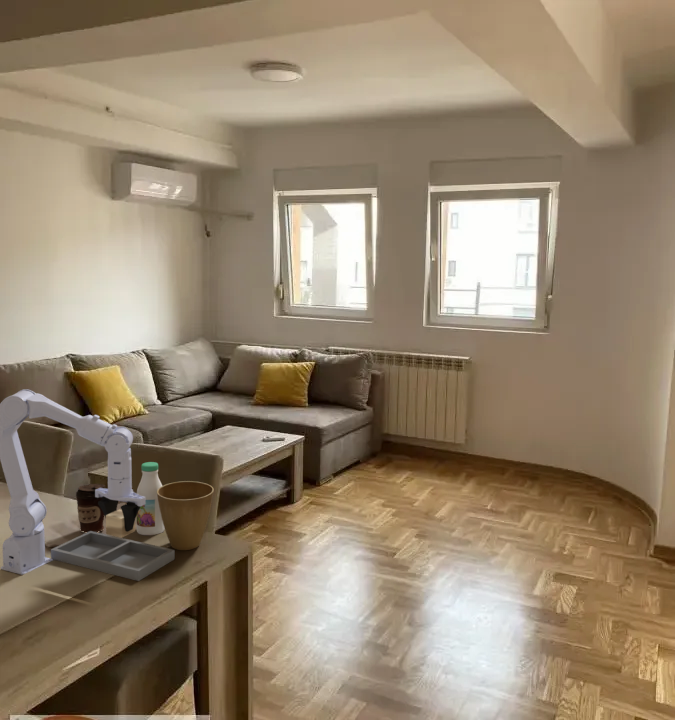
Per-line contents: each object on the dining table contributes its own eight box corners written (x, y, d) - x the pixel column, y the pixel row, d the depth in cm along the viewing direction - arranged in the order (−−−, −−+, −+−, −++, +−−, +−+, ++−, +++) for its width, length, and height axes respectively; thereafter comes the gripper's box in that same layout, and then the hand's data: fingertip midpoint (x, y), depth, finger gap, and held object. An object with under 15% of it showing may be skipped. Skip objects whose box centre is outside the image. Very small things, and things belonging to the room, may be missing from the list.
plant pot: (145, 550, 187) (144, 492, 185) (182, 532, 200) (182, 478, 198) (189, 562, 180) (189, 502, 178) (224, 542, 193) (224, 486, 191)
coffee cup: (101, 537, 195) (100, 492, 193) (71, 536, 195) (70, 491, 193) (112, 525, 204) (111, 482, 202) (83, 524, 204) (82, 481, 202)
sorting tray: (138, 582, 168) (138, 571, 168) (51, 560, 179) (50, 549, 179) (174, 560, 181) (174, 549, 180) (90, 541, 192) (90, 530, 191)
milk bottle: (153, 524, 205) (153, 458, 202) (170, 531, 200) (169, 463, 197) (131, 532, 199) (130, 463, 196) (147, 539, 194) (146, 469, 192)
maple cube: (121, 537, 174) (121, 518, 174) (106, 534, 176) (105, 515, 176) (135, 531, 179) (134, 512, 178) (119, 527, 181) (119, 509, 180)
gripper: (153, 476, 176) (153, 528, 178) (108, 468, 182) (109, 518, 184) (134, 484, 170) (135, 537, 172) (88, 475, 176) (89, 527, 178)
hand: (120, 528), depth 178 cm, fingers closed on maple cube, 5 cm apart
